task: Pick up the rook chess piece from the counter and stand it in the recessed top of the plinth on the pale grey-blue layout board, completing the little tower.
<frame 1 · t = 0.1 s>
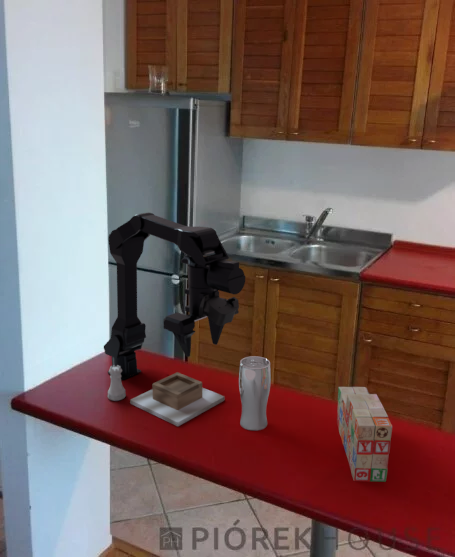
hand: (201, 350, 132), 15 cm above the countertop, tool pointing down, fingers open, 9 cm apart
beer glass: (253, 424, 129), on the countertop
rook chess piece: (116, 397, 140), on the countertop
stack of blocks: (359, 451, 119), on the countertop
layout board: (177, 401, 138), on the countertop
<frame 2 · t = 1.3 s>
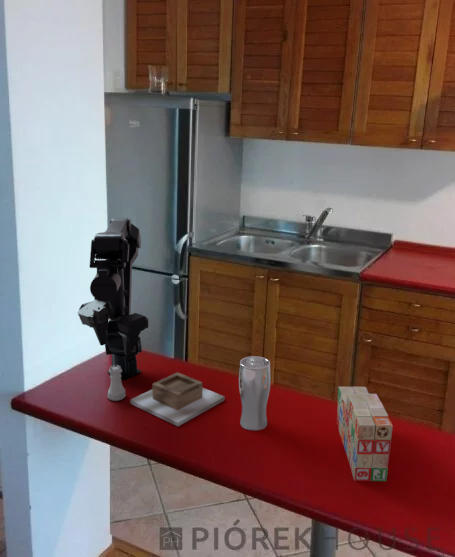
hand: (114, 349, 137), 12 cm above the countertop, tool pointing down, fingers open, 9 cm apart
nothing on the countertop moved.
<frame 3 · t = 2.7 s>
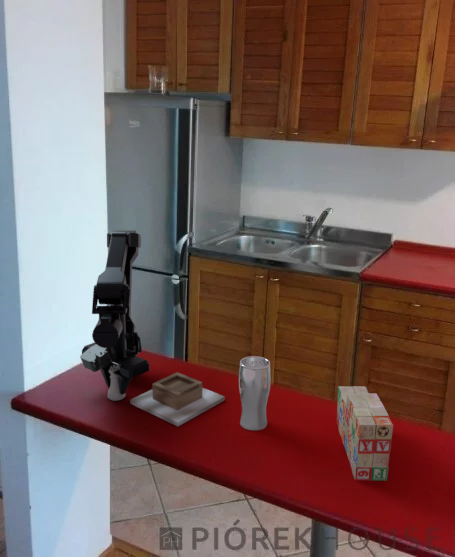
hand: (116, 391, 140), 2 cm above the countertop, tool pointing down, fingers closed on rook chess piece, 4 cm apart
rook chess piece: (116, 397, 140), on the countertop, touching gripper
everything else where it was.
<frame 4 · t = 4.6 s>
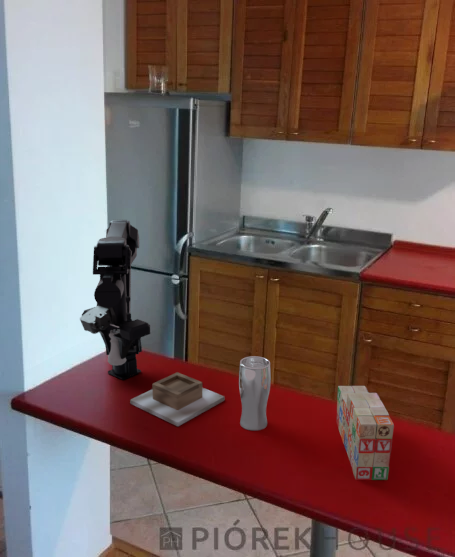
hand: (116, 355, 137), 11 cm above the countertop, tool pointing down, fingers closed on rook chess piece, 4 cm apart
rook chess piece: (117, 362, 138), point 9 cm above the countertop, touching gripper
everything else where it was.
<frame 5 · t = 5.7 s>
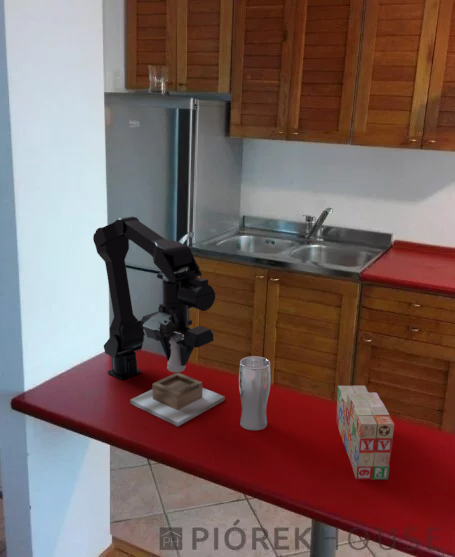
hand: (176, 362, 135), 10 cm above the countertop, tool pointing down, fingers closed on rook chess piece, 4 cm apart
rook chess piece: (176, 369, 136), point 8 cm above the countertop, touching gripper
everything else where it was.
when the fingers open (7 cm above the countertop, at t = 6.5 s): rook chess piece drops 1 cm, resting on layout board.
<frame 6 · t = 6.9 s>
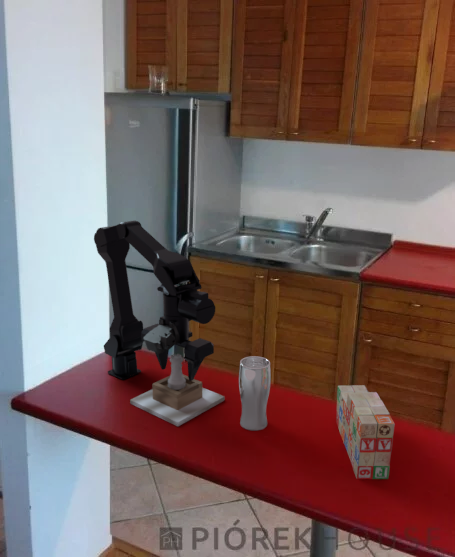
hand: (177, 374, 136), 7 cm above the countertop, tool pointing down, fingers open, 9 cm apart
rook chess piece: (176, 387, 137), point 4 cm above the countertop, touching layout board
everything else where it was.
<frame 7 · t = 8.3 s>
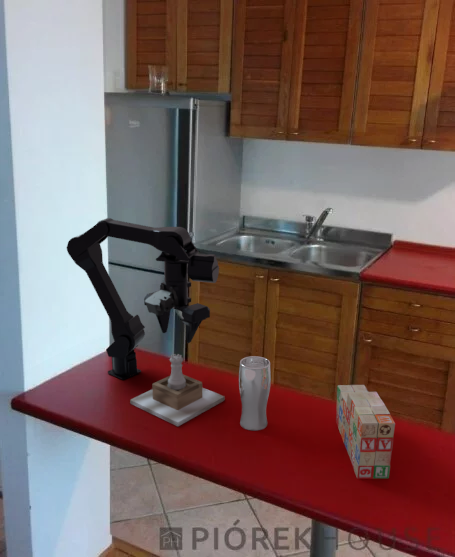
hand: (176, 337, 146), 12 cm above the countertop, tool pointing down, fingers open, 9 cm apart
nothing on the countertop moved.
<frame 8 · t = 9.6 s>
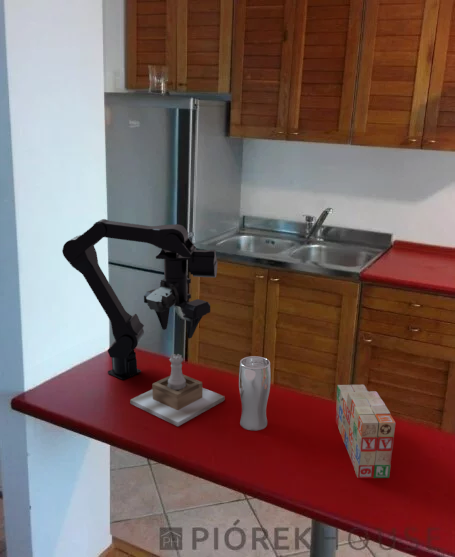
hand: (176, 333, 148), 12 cm above the countertop, tool pointing down, fingers open, 9 cm apart
at the end: rook chess piece 0.1 cm off-centre on the layout board, point 3.8 cm above the layout board's base; rook chess piece tilted 0°; the gripper is holding nothing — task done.
